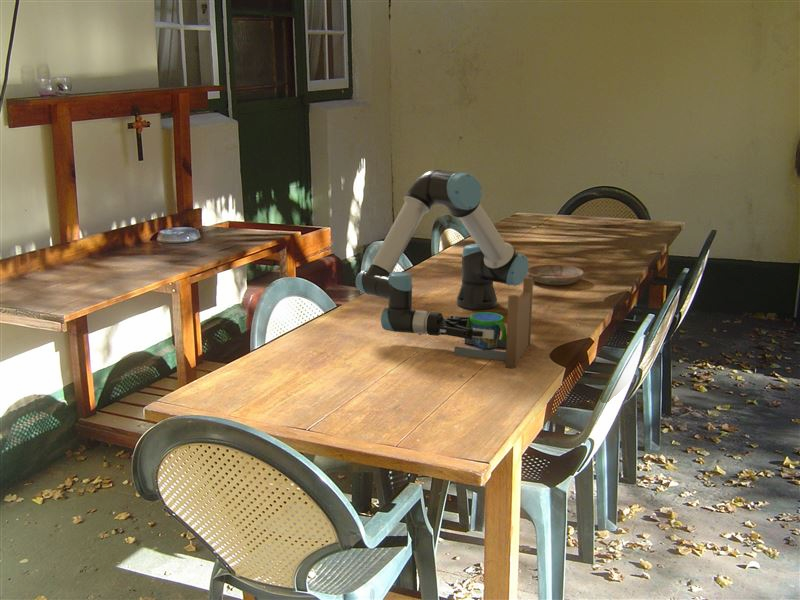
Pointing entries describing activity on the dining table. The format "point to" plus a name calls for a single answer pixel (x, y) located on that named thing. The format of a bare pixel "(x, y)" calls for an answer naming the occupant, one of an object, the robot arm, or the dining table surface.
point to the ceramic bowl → (555, 274)
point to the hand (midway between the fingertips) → (497, 329)
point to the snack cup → (487, 322)
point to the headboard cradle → (510, 330)
